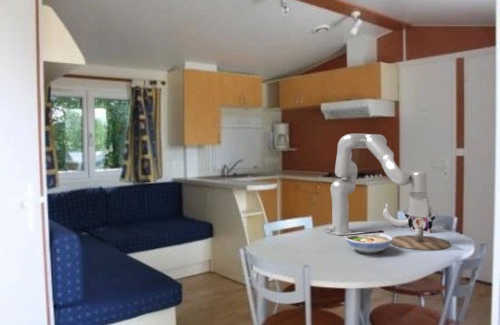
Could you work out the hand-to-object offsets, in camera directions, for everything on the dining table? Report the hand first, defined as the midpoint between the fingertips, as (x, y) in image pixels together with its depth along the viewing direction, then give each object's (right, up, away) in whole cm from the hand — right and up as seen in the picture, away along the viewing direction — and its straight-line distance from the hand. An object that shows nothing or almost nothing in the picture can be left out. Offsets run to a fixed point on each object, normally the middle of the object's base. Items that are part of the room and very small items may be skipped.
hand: (420, 227), depth 224 cm
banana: (+4, -7, +46) cm, 47 cm away
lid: (0, -8, +1) cm, 8 cm away
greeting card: (+13, -7, +30) cm, 34 cm away
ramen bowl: (-30, -10, -12) cm, 34 cm away
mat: (0, -9, +1) cm, 9 cm away
